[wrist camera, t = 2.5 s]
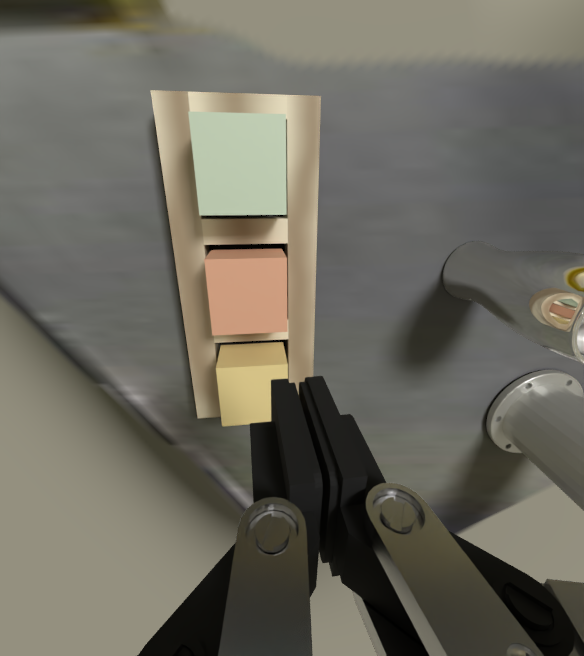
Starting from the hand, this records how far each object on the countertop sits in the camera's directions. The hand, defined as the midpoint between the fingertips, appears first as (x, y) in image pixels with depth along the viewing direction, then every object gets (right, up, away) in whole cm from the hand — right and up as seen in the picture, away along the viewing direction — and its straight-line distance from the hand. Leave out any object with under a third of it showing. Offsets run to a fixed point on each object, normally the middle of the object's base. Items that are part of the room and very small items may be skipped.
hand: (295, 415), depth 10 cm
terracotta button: (-4, +7, +18) cm, 20 cm away
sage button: (-4, +15, +14) cm, 21 cm away
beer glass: (+19, +9, +23) cm, 31 cm away
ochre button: (-4, -1, +21) cm, 22 cm away
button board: (-4, +8, +20) cm, 22 cm away
